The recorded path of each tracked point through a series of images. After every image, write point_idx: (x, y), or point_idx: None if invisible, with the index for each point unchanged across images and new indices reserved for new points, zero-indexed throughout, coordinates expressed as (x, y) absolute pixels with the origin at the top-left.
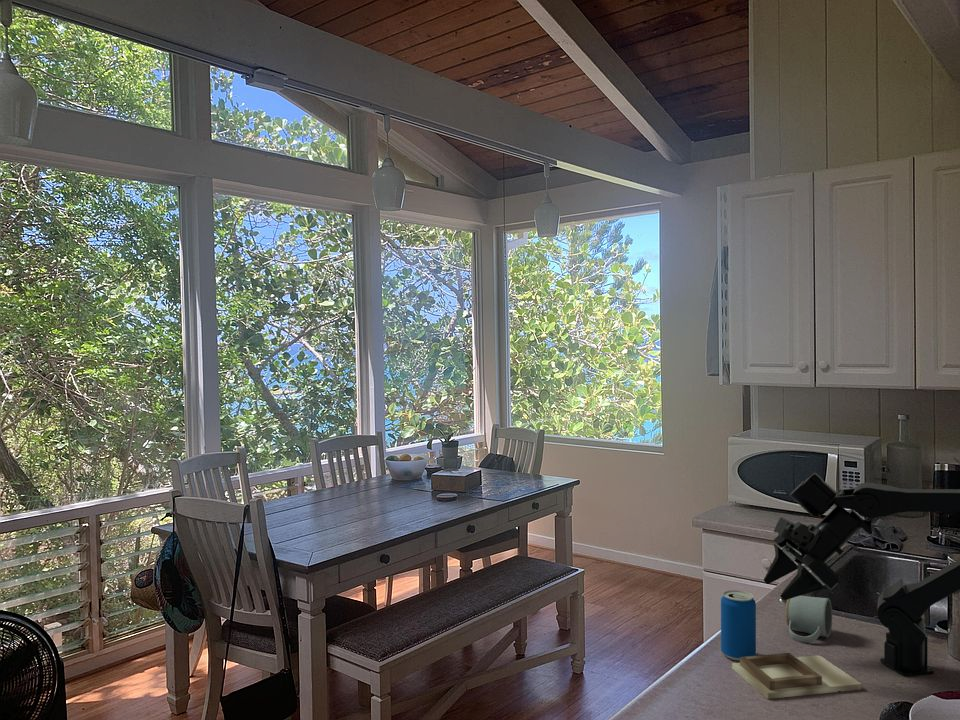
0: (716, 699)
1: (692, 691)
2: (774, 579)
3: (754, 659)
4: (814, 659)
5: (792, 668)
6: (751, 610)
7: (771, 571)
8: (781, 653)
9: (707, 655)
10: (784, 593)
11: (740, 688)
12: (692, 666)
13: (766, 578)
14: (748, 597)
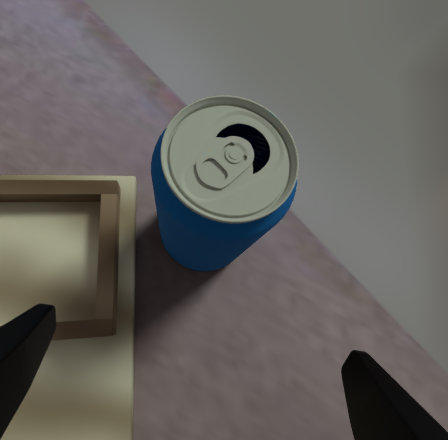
0: (3, 80)
1: (53, 56)
2: (356, 428)
3: (100, 214)
4: (103, 424)
5: (64, 317)
6: (156, 197)
7: (399, 426)
8: (112, 309)
9: None
10: (10, 323)
11: (34, 150)
12: (166, 107)
13: (359, 367)
14: (212, 197)
